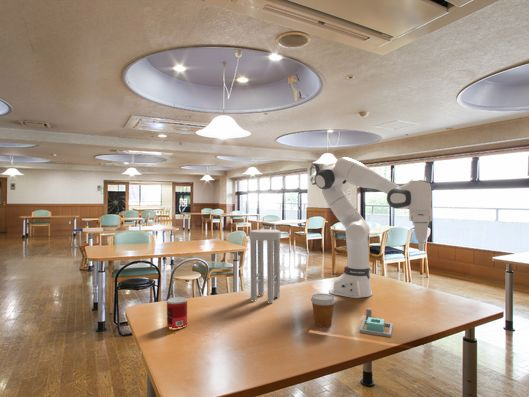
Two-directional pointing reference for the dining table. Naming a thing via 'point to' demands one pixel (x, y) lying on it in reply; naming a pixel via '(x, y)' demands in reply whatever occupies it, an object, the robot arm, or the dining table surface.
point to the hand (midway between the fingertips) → (420, 249)
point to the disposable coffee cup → (323, 309)
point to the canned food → (177, 312)
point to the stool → (269, 236)
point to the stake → (367, 315)
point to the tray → (377, 331)
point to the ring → (375, 324)
